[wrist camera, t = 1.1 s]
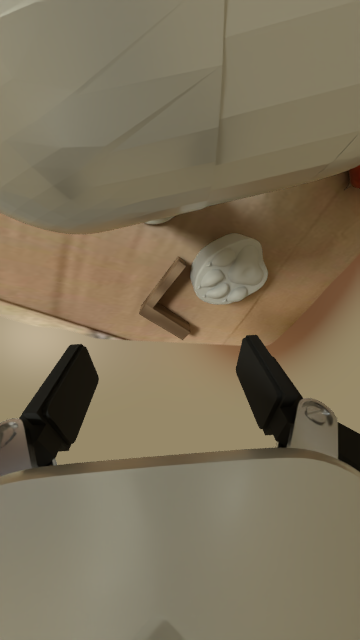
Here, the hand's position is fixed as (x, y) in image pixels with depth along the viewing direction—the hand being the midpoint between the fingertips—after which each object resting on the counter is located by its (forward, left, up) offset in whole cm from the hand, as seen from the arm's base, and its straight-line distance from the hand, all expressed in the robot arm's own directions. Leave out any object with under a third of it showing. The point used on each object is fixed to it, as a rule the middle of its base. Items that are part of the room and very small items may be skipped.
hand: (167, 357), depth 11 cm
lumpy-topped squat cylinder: (-5, +10, -29) cm, 31 cm away
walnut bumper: (+6, +8, -29) cm, 30 cm away
